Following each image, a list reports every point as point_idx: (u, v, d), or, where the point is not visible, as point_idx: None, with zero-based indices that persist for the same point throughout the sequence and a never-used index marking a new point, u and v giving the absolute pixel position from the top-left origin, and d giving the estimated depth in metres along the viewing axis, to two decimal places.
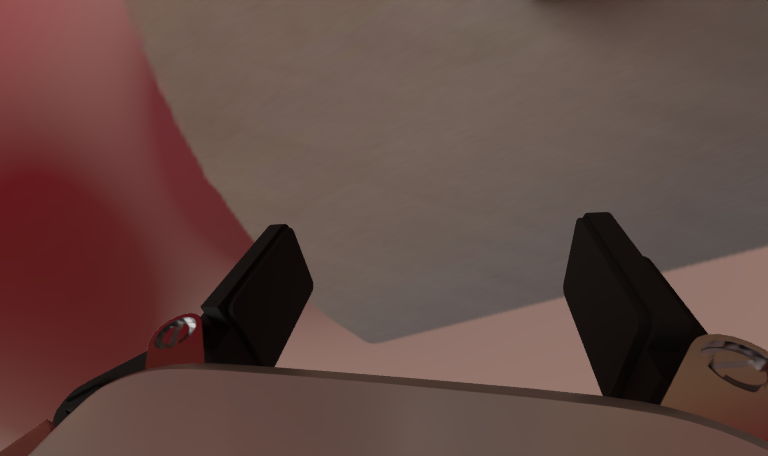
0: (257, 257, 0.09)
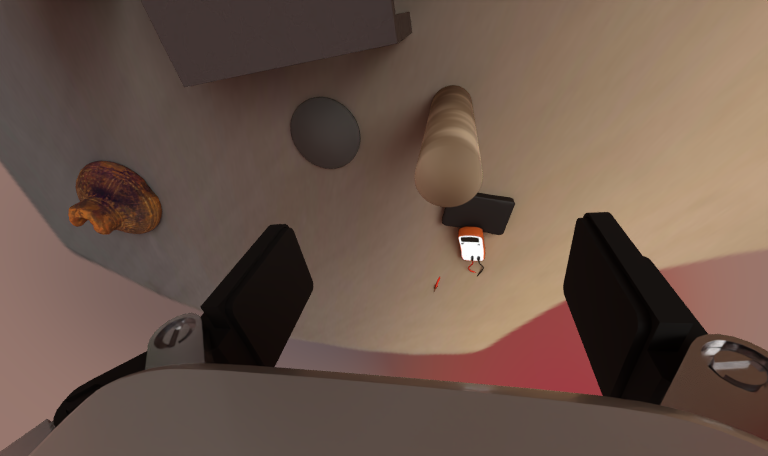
0: (257, 257, 0.09)
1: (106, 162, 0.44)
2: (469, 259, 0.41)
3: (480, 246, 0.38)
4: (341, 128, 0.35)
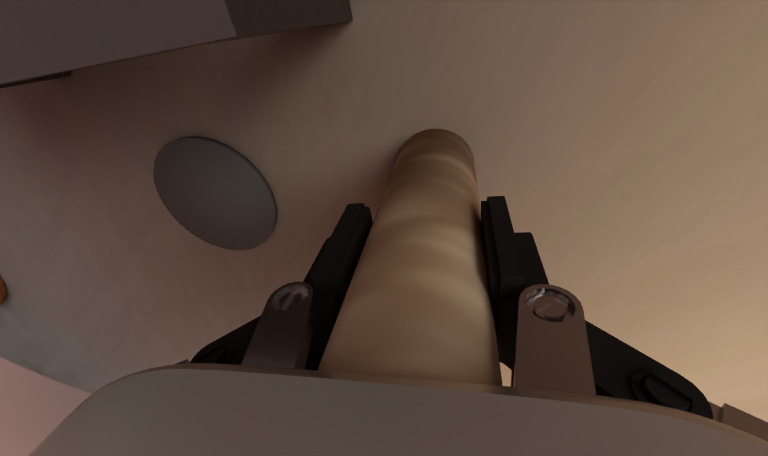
0: (348, 231, 0.10)
1: None
2: None
3: None
4: (240, 191, 0.19)
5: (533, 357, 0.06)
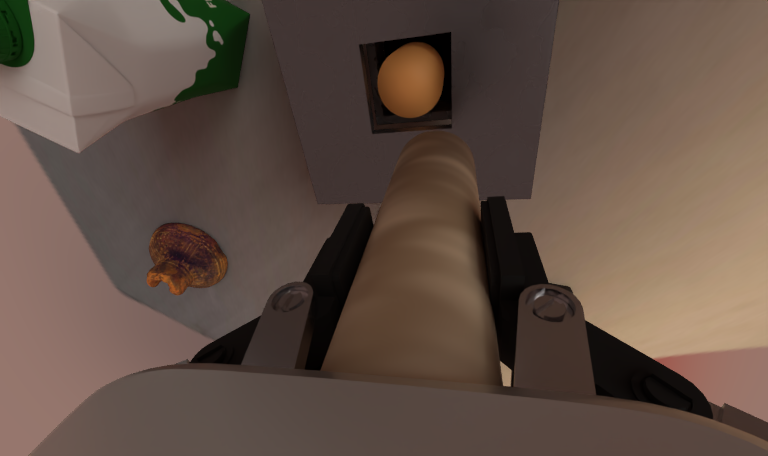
0: (348, 231, 0.10)
1: (183, 225, 0.45)
2: None
3: None
4: None
5: (533, 357, 0.06)
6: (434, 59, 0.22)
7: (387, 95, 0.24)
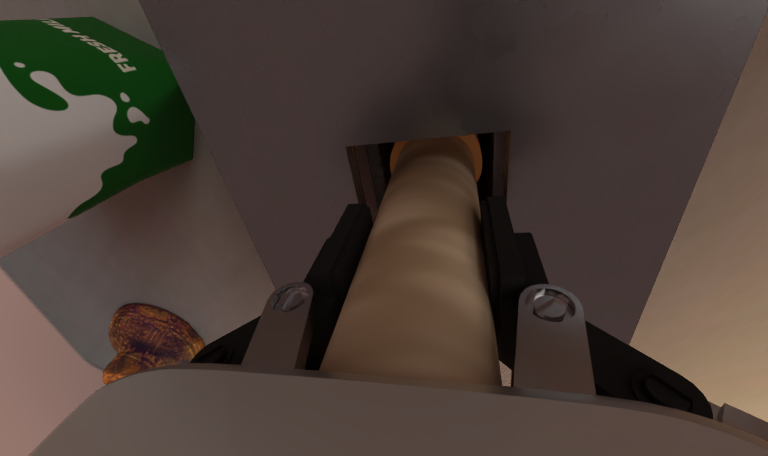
0: (348, 231, 0.10)
1: (147, 308, 0.37)
2: None
3: None
4: None
5: (533, 357, 0.06)
6: (470, 136, 0.16)
7: None
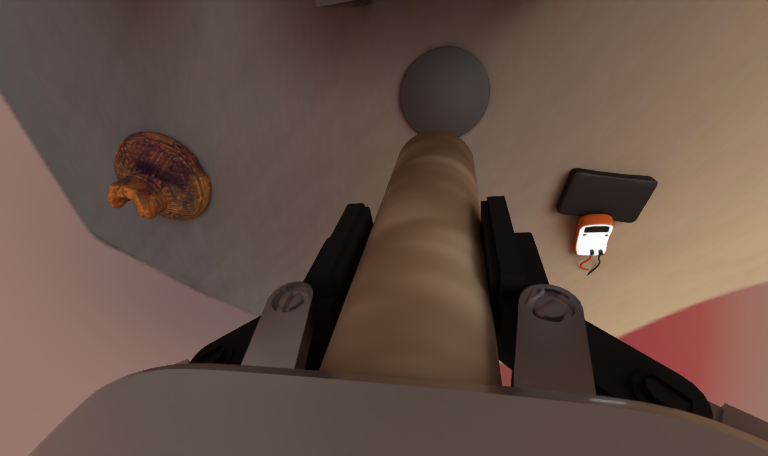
0: (348, 232, 0.10)
1: (153, 133, 0.37)
2: (585, 254, 0.35)
3: (607, 237, 0.32)
4: (468, 88, 0.28)
5: (533, 357, 0.06)
6: None
7: None
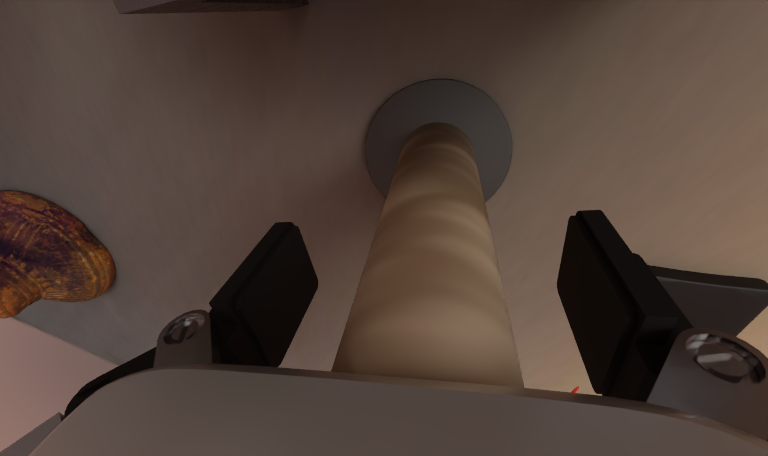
0: (264, 254, 0.10)
1: (15, 193, 0.25)
2: None
3: None
4: (476, 145, 0.17)
5: (675, 405, 0.05)
6: None
7: None
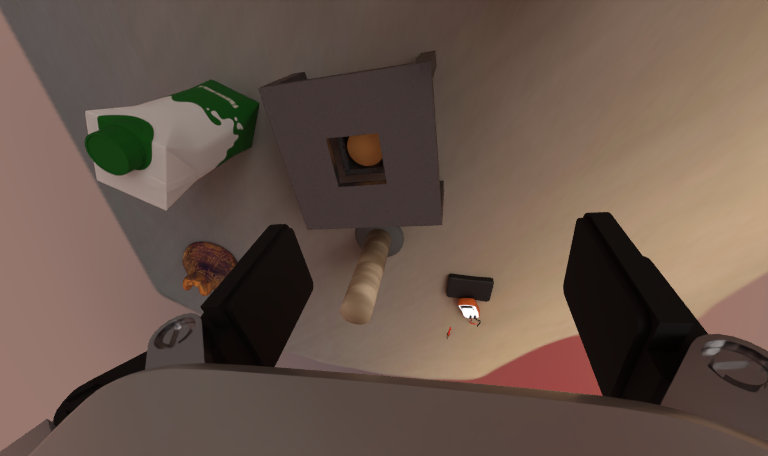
0: (257, 257, 0.09)
1: (208, 243, 0.61)
2: (469, 317, 0.58)
3: (474, 310, 0.56)
4: (391, 235, 0.52)
5: (688, 412, 0.05)
6: (378, 135, 0.38)
7: (353, 153, 0.40)
